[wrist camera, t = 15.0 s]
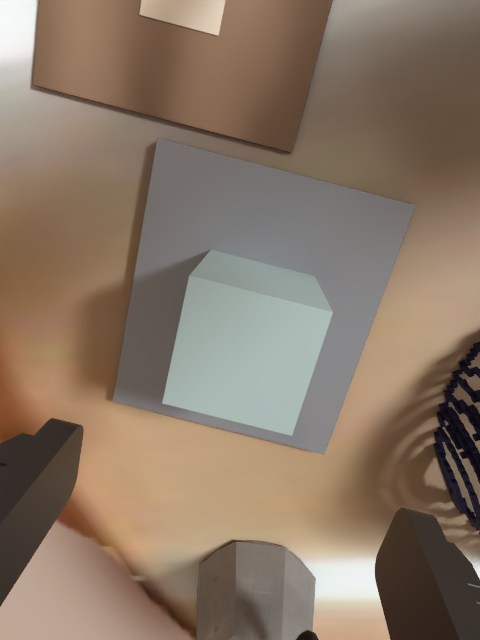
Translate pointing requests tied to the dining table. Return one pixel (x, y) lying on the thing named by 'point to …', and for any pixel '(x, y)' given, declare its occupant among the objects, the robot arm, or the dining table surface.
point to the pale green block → (247, 342)
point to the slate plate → (263, 246)
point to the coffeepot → (255, 594)
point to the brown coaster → (188, 60)
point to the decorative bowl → (460, 438)
